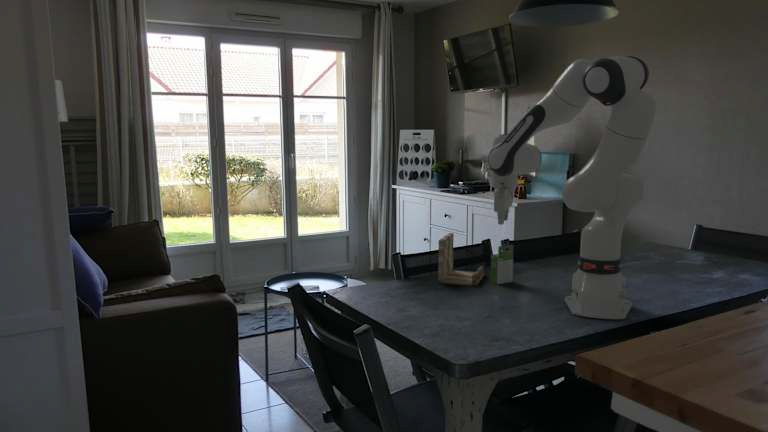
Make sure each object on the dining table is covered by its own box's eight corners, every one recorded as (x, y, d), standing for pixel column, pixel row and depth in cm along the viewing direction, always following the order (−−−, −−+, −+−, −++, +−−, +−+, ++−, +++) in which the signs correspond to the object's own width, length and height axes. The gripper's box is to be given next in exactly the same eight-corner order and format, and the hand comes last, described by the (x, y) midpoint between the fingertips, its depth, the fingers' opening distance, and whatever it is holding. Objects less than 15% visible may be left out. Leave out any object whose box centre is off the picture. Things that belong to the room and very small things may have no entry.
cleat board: (476, 286, 191) (476, 242, 189) (438, 282, 196) (438, 240, 194) (484, 275, 206) (484, 234, 204) (448, 272, 210) (449, 233, 208)
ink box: (505, 279, 200) (506, 242, 198) (513, 282, 196) (514, 244, 194) (489, 282, 196) (490, 244, 194) (497, 284, 193) (498, 246, 191)
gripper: (509, 184, 181) (508, 227, 183) (517, 180, 200) (515, 218, 202) (489, 184, 183) (488, 226, 185) (499, 179, 202) (498, 217, 204)
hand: (503, 222), depth 193 cm, fingers open, 8 cm apart
